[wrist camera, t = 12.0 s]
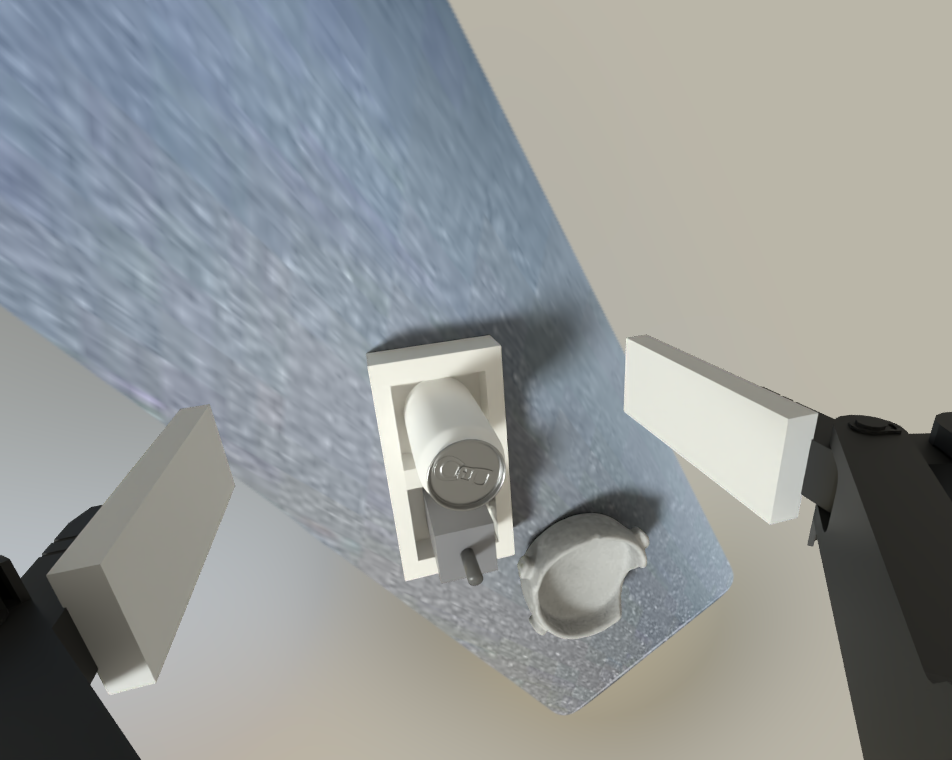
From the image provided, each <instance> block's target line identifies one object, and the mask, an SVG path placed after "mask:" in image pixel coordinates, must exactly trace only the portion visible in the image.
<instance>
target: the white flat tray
mask: <svg viewBox="0 0 952 760" xmlns="http://www.w3.org/2000/svg"><path fill="white" fill-rule="evenodd" d="M366 356H367V366H368V372H369V377H370V383H371V389H372V394H373V400H374V406H375V411H376V417H377V423H378V429H379V434H380V440H381V446H382V451H383V457H384V463H385V468H386V474H387V480H388V485H389V491H390V497H391V502H392V508H393V514H394V519H395V525H396V531H397V537H398V542H399V548H400V554H401V559H402V565H403V571H404V576H405V581H408V580H412V579H417V578H421V577H425V576H429V575H433V574H437V573H439V572H438V568H437V564H436V560H435V556H434V551H433V547H432V543H431V539H430V534H429V530H428V526H427V519H426V512H425V505H424V498H423V492H422V487H423V486H422V484H421V482H420V479H419V476H418V473H417V469H416V466H415V462H414V458H413V454H412V450H411V446H410V441H409V437H408V433H407V429H406V425H405V420H404V405H405V401H406V398H407V396H408V394H409V392H410V391H411V390H412V389H413V388H414V387H415V386H416V385H417V384H419V383H420V382H422V381H427V380H433V379H439V378H445V377H450V378H453V379H456V380H458V381H460V382H461V383H462V384H464V385H465V386H466V387H467V389H468V390H469V391H470V393H471V394H472V396H473V397H474V399H475V401H476V402H477V404H478V405H479V407H480V409H481V410H482V412H483V413H484V415H485V417H486V418H487V420H488V421H489V423H490V425H491V426H492V428H493V430H494V431H495V433H496V435H497V436H498V438H499V440H500V442H501V444H502V446H503V449H504V453H505V464H506V477H505V481H504V483H503V486H502V488H501V489H500V491H499V492H498V494H497V495H496V496H495V497H494V498H493V499H492V500H490V501H489V502H488V503H486V506H487V509H488V511H489V513H490V515H491V518H492V520H493V522H494V530H495V542H496V554H497V559H499V558H503V557H507V556H511V555H515V552H514V537H513V522H512V507H511V491H510V476H509V461H508V446H507V431H506V416H505V400H504V385H503V370H502V355H501V345H500V344H499V343H498V342H497V341H496V340H495V339H493V338H492V337H491V336H490V335H486V336H479V337H473V338H466V339H459V340H453V341H446V342H439V343H433V344H426V345H419V346H413V347H406V348H399V349H392V350H386V351H379V352H372V353H366Z"/></svg>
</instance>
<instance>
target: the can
mask: <svg viewBox="0 0 952 760" xmlns="http://www.w3.org/2000/svg"><path fill="white" fill-rule="evenodd" d="M404 420H405V425H406V429H407V433H408V437H409V441H410V446H411V450H412V454H413V458H414V462H415V466H416V469H417V473H418V476H419V479H420V482H421V484H422V486H423V487H424V489H425V490H426V491H427V492H428V493H429V494H430V495H431V497H432V498H433V499H434V500H435V501H436V502H437V503H438V504H439V505H441V506H442V507H444V508H447V509H450V510H454V511H468V510H473V509H476V508H479V507H481V506H483V505H485V504H486V503H488V502H489V501H490V500H492V499H493V498H494V497H495V496H496V495H497V494H498V492H499V491H500V489H501V488H502V486H503V483H504V481H505V477H506V464H505V453H504V449H503V446H502V444H501V442H500V440H499V438H498V436H497V435H496V433H495V431H494V430H493V428H492V426H491V425H490V423H489V421H488V420H487V418H486V417H485V415H484V413H483V412H482V410H481V409H480V407H479V405H478V404H477V402H476V401H475V399H474V397H473V396H472V394H471V393H470V391H469V390H468V389H467V387H466V386H465V385H464V384H462V383H461V382H460V381H458V380H456V379H453V378H450V377H445V378H439V379H433V380H427V381H422V382H420V383H419V384H417V385H416V386H415V387H414V388H413V389H412V390H411V391H410V392H409V394H408V396H407V398H406V401H405V405H404Z"/></svg>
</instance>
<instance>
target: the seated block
mask: <svg viewBox="0 0 952 760" xmlns="http://www.w3.org/2000/svg"><path fill="white" fill-rule="evenodd" d="M422 492H423V498H424V505H425V512H426V519H427V526H428V530H429V534H430V539H431V543H432V547H433V551H434V556H435V560H436V564H437V568H438V572H439V577H440V581H441V584H444V583H448V582H452V581H456V580H460V579H464V578H467V579H468V582H469V584H470V585H472V586H476V585H479V584H480V583H481V582H482V581H483V576H482V574H484V573H488V572H492V571H496V570H498V566H497V554H496V542H495V530H494V522H493V520H492V518H491V515H490V513H489V511H488V509H487V506H486V504H485V505H483V506H481V507H479V508H476V509H473V510H468V511H454V510H450V509H447V508H444V507H442V506H441V505H439V504H438V503H437V502H436V501H435V500H434V499H433V498H432V497H431V495H430V494H429V493H428V492H427V491H426V490H425V489H424V487H422Z"/></svg>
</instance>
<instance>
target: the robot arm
mask: <svg viewBox="0 0 952 760" xmlns="http://www.w3.org/2000/svg"><path fill="white" fill-rule="evenodd" d="M624 412H625V413H627V414H628V415H629V416H631V417H632V418H633V419H634V420H636V421H637V422H638V423H640V424H641V425H642V426H643V427H645V428H646V429H647V430H649V431H650V432H651V433H652V434H654V435H655V436H656V437H658V438H659V439H660V440H661V441H663V442H664V443H665V444H667V445H668V446H669V447H670V448H672V449H673V450H674V451H676V452H677V453H678V454H680V455H681V456H682V457H683V458H685V459H686V460H687V461H689V462H690V463H691V464H692V465H694V466H695V467H696V468H698V469H699V470H700V471H701V472H703V473H704V474H705V475H707V476H708V477H709V478H711V479H712V480H713V481H714V482H716V483H717V484H718V485H719V486H721V487H722V488H723V489H725V490H726V491H727V492H729V493H730V494H731V495H732V496H734V497H735V498H736V499H737V500H739V501H740V502H741V503H743V504H744V505H745V506H747V507H748V508H749V509H750V510H752V511H753V512H754V513H756V514H757V515H758V516H760V517H761V518H762V519H763V520H765V521H766V522H767V523H769V524H770V525H771V524H775V523H779V522H783V521H786V520H791V519H794V518H797V517H798V513H799V508H800V503H801V498H802V495H803V496H805V497H806V498H808V499H809V500H811V501H813V502H814V503H816V507H815V512H814V516H813V521H812V526H811V530H810V536H809V540H808V545H809V546H813V545H814V541H815V540H818V544H819V549H820V554H821V559H822V563H823V568H824V573H825V577H826V582H827V587H828V591H829V597H830V601H831V606H832V611H833V616H834V620H835V625H836V630H837V634H838V639H839V644H840V649H841V653H842V658H843V662H844V668H845V672H846V677H847V681H848V686H849V691H850V695H851V701H852V705H853V710H854V715H855V720H856V724H857V729H858V734H859V739H860V743H861V748H862V753H863V758H864V760H952V412H946V413H941V414H938V415H936V418H935V421H934V424H933V427H932V430H931V433H926V434H908V432H907V431H906V430H904V429H903V428H902V427H901V426H899V425H897V424H895V423H892V422H890V421H887V420H883V419H880V418H876V417H871V416H863V415H847V416H840V417H838V418H836V419H833V418H831V417H828V416H826V415H824V414H822V413H820V412H817V411H815V410H813V409H811V408H808V407H806V406H804V405H802V404H800V403H798V402H793V400H791V399H789V398H786V397H784V396H780V394H778V393H776V392H773V391H771V390H769V389H767V388H765V387H761V386H758V385H756V384H754V383H752V382H750V381H747V380H745V379H743V378H741V377H739V376H736V375H734V374H732V373H730V372H728V371H725V370H723V369H721V368H719V367H717V366H715V365H712V364H710V363H708V362H706V361H704V360H701V359H699V358H697V357H695V356H693V355H690V354H688V353H686V352H684V351H681V350H680V349H677V348H675V347H673V346H670V345H669V344H666V343H664V342H662V341H660V340H658V339H655V338H653V337H651V336H649V335H641V336H634V337H628V338H626V362H625V391H624ZM234 487H235V483H234V480H233V477H232V474H231V471H230V468H229V464H228V461H227V458H226V455H225V452H224V449H223V445H222V442H221V439H220V436H219V433H218V429H217V426H216V423H215V420H214V417H213V414H212V410H211V407H210V404H208V405H202V406H196V407H190V408H183V409H180V410H179V411H178V413H177V414H176V415H175V416H174V418H173V419H172V420H171V421H170V423H169V424H168V425H167V426H166V428H165V429H164V430H163V431H162V432H161V434H160V435H159V436H158V437H157V439H156V440H155V441H154V442H153V444H152V445H151V446H150V447H149V449H148V450H147V451H146V452H145V453H144V455H143V456H142V457H141V458H140V460H139V461H138V462H137V463H136V465H135V466H134V467H133V468H132V470H131V471H130V472H129V473H128V475H127V476H126V477H125V478H124V479H123V481H122V482H121V483H120V484H119V486H118V487H117V488H116V489H115V491H114V492H113V493H112V494H111V496H110V497H109V498H108V499H107V501H106V502H105V503H104V504H103V505H99V506H94V507H91V508H89V509H88V510H87V511H85V512H84V513H82V514H81V515H80V516H78V517H77V518H75V519H74V520H73V521H71V522H70V523H68V525H67V526H66V527H65V528H64V529H63V530H62V532H61V533H60V534H59V535H58V536H57V537H56V538H55V540H54V543H51V544H50V545H49V546H48V548H47V549H46V550H45V551H44V552H43V553H42V557H39V558H38V559H37V560H36V561H35V563H34V564H33V565H32V566H31V567H30V568H29V569H28V571H27V572H26V573H25V574H24V575H23V576H22V577H21V579H20V577H19V575H18V573H17V571H16V570H15V568H14V566H13V564H12V563H11V561H10V559H8V558H6V557H4V556H2V555H0V760H141V759H140V757H139V756H138V755H137V753H136V752H135V750H134V749H133V747H132V746H131V744H130V743H129V741H128V740H127V738H126V737H125V735H124V734H123V732H122V731H121V729H120V728H119V727H118V725H117V724H116V722H115V721H114V719H113V718H112V716H111V715H110V713H109V712H108V710H107V709H106V708H105V706H104V705H103V703H102V701H101V700H100V699H99V697H98V696H97V694H96V693H95V691H94V690H93V688H92V687H91V685H90V684H91V682H92V680H93V678H94V677H95V675H96V673H98V675H99V677H100V679H101V680H102V683H103V684H104V686H105V688H106V690H107V692H108V694H109V695H111V694H115V693H119V692H123V691H127V690H130V689H134V688H138V687H142V686H146V685H150V684H154V683H156V682H157V679H158V677H159V674H160V672H161V669H162V667H163V664H164V661H165V659H166V657H167V654H168V652H169V649H170V647H171V644H172V642H173V639H174V637H175V634H176V632H177V629H178V627H179V625H180V622H181V619H182V617H183V615H184V612H185V610H186V607H187V605H188V602H189V599H190V597H191V595H192V592H193V590H194V587H195V585H196V582H197V580H198V577H199V575H200V572H201V570H202V567H203V565H204V562H205V560H206V557H207V555H208V552H209V550H210V547H211V545H212V542H213V540H214V537H215V535H216V532H217V530H218V527H219V525H220V522H221V520H222V517H223V515H224V512H225V510H226V507H227V505H228V502H229V500H230V498H231V495H232V492H233V490H234Z"/></svg>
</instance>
